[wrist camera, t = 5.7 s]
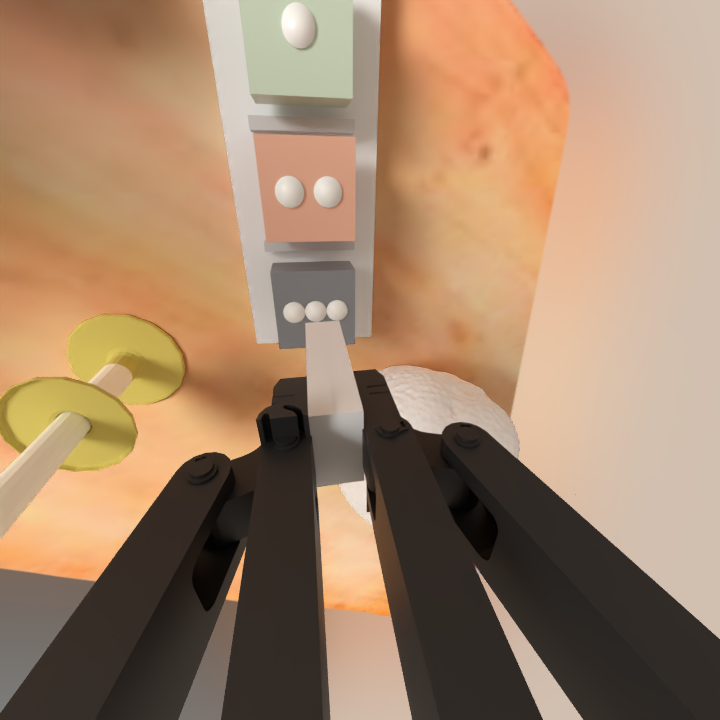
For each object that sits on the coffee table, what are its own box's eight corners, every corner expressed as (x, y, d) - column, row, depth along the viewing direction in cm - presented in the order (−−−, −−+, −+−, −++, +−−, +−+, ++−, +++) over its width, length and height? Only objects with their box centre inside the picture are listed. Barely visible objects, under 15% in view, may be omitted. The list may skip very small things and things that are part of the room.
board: (259, 335, 33) (255, 349, 30) (199, -53, 20) (184, -89, 17) (367, 328, 34) (373, 341, 32) (375, -33, 22) (387, -64, 19)
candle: (51, 374, 31) (-667, 955, 8) (91, 291, 28) (-842, 819, 5) (158, 417, 35) (-102, 878, 12) (204, 349, 32) (-25, 781, 9)
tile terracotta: (269, 235, 24) (266, 242, 22) (258, 138, 21) (252, 133, 19) (349, 234, 25) (355, 241, 23) (348, 141, 22) (356, 136, 20)
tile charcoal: (281, 333, 28) (279, 350, 26) (272, 262, 25) (269, 273, 23) (349, 329, 29) (355, 344, 26) (349, 260, 26) (355, 270, 24)
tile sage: (255, 103, 21) (249, 93, 19) (239, -30, 19) (230, -65, 16) (346, 107, 22) (353, 98, 20) (345, -19, 19) (353, -50, 17)
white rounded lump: (280, 390, 36) (270, 521, 23) (407, 286, 33) (487, 364, 19) (385, 474, 46) (423, 601, 32) (492, 399, 42) (586, 506, 29)
